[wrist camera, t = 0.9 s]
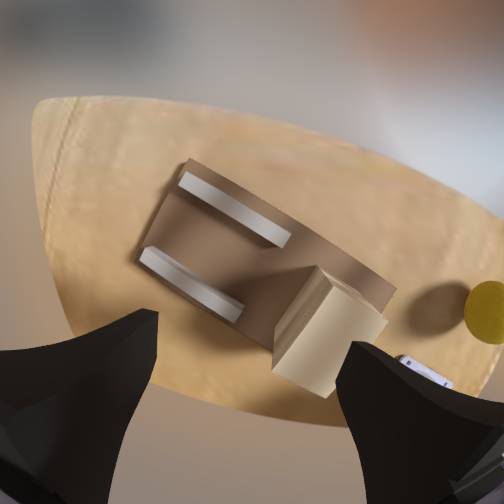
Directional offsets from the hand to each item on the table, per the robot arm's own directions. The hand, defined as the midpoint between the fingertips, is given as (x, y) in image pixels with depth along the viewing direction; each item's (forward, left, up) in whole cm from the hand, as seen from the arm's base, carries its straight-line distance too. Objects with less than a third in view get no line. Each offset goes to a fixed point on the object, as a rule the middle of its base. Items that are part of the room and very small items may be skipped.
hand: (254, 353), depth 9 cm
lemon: (-19, -9, -13) cm, 25 cm away
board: (+1, 0, -13) cm, 13 cm away
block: (-4, 0, -12) cm, 13 cm away
